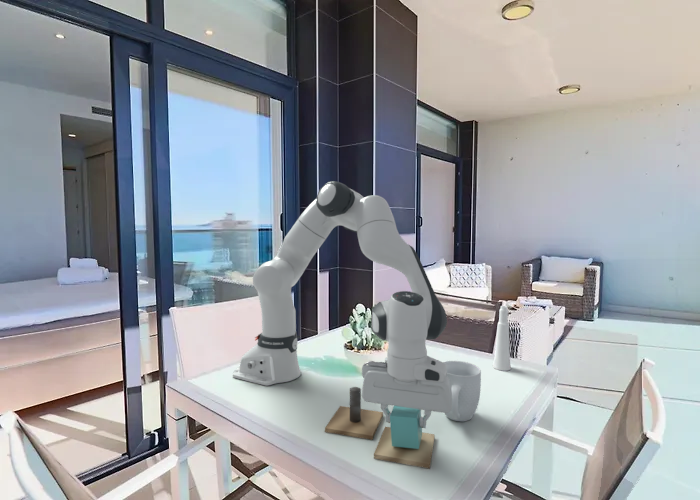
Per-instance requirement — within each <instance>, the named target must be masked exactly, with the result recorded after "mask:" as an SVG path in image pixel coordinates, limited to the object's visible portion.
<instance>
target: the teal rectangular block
mask: <svg viewBox="0 0 700 500" xmlns="http://www.w3.org/2000/svg"><path fill="white" fill-rule="evenodd" d="M392 407H393V408H392V410H391V411H390V412H391V414H390V423H389V424H390V425H389V426H390V427H391V440H392V446H394V447H404V448H414V449H419V446H420V442H421V438H422V432H423V428H419V419H420V417H422V410H420V409H413V408H406V407H399V406H392Z"/></svg>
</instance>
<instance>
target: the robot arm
mask: <svg viewBox="0 0 700 500" xmlns="http://www.w3.org/2000/svg"><path fill="white" fill-rule="evenodd" d="M392 212H393V211H392V210H391V207H390V205H389V203H388V201H387V200H386V199H385V198H384V197H382V196H380V195H377V194H374V195H367V196H365V197H364V196H363V195H361V194H360V193H359V192H357V191H356V190H354V189H351V188H350V187H349V186H347V185H346V184H344V183H342V182H340V181H334V180H333V181H332V180H331V181H328V182H327V183H324V185H322V187H320V189H319V190H318V191H317V194H316V198H315V199H314V200H313V201H312V202H311V203H310V204H309V205H308V206H307V207H306V208H305V209H304V211H303V212H302V213H301V214H300V215H299V217H298V218H297V219H296V221H295V222H294V224H293V225H292V227H291V229H289V231H288V232H287V234H286V235H285V237H284V239H283V242H282V244H281V246H280V248H279V250H278V252H277V254H276V255H275V257H273V258H272V259H271V260H269V261H265V262H262V264H261V265H260V266H258V267H257V269H256V270H255V271H254V273H253V276H252V285H253V287H254V289H255V290H256V291H257V295H258V300H259V305H260V310H261V311H260V312H261V332H260V333H259V334H257V335H256V336H255V337H254V341H257V343H256V344H255V345H254V346H253V347H251V348H250V349H249V350H247V351H246V352H245V353H244V354H243V355H242V357H241V359H240V362H239V363H240V364H239V366H238V367H237V368H236V369H235V370H234V371H233V373H232V378H234V379H239V380H243V381H246V382H250V383H254V384H257V385H262V386H272V385H275V384H281V383H287V382H291V381H294V380H296V379H297V378H299V377H300V376H301V373H302V371H301V369H300V365H299V360H298V351H297V349H298V332H297V331H296V329H297V324H296V319H297V317H296V308H295V305H294V301H293V296H292V287H294V286H295V285H296V284H298V281H299V280H300V278H301V277H302V276H303V274H304V272H305V271H306V270H307V268H308V266H309V264H310V263H311V261H312V259H313V258H314V256H316V253H317V252H318V250H319V249H320V248H321V246H322V245H323V244H324V242H326V240H327V238H328V237H329V235H330V234H331V232H332V231H333V229H334V228H336V227H338V226H342V227H343V229H344V230H346V231H350V232H353V233H356V234H357V235H356V236H357V239H358V244H359V247H360V250H361V253H362V254H363V255H364V256H365V257H366V258H367V259H369V260H370V261H372V262H375V263H376V264H379V265H383V266H386V267H390V268H392V269H395V270H397V271H399V272H401V273H402V274H403V275H404V277H405V278H406V279H407V282H408V285H409V286H410V287H409V288H410V289H411V291H408V290H407V291H406V290H402V291H396V292H394V293H392V294H391V295H390V298H389V299H387V300H382V301H378V303H376V304H375V305H374V307H372V310H371V312H370V313H371V315H370V316H371V317H370V320H371V321H370V325H371V326H370V328H371V332H372V333H373V335H375V336H376V337H378V338H379V339H380V340H381V341H387V342H388V347H387V351H386V352H387V356H386V358H387V363H386V362H385V361H384V362H383V361H375V360H369V361H368V362H365V363H363V365H362V367H361V375H362V377H363V383H362V389H361V399H363V401H364V402H365V403H372V404H379V405H380V410H381V412H383V415H384V416H385V423H388V424H390V414H391V412H392V411H390V409H389V408H388V407H389V406H392V407H394V406H399V407H406V408H413V409H420V410H421V411H422V410H423V411H424V413H423V414H424V416H421V417H420V419H419V428H422V429H426V428H427V421H428V420H429V418H430V416H431V414H432V412H436V413H442V414H445V413H449V412H450V411H451V410H452V390H451V383H450V380H449V378H448V377H447V366H446V364H445V363H443V362H444V361H441V360H439V359H436V358H433V357H431V356H429V355H428V350H427V345H426V340H436V339H437V338H438V337H440V336H441V334H442V333H443V332H444V331H445V329H446V328H447V325H448V324H447V323H448V317H447V313H446V311H445V308H444V306H443V305H442V304H443V303H441V301H440V300H439V298H438V297H437V295H436V292H435V291H434V289H433V286H432V284H431V282H430V279H429V277H428V275H427V272H426V271H425V268H424V266H423V264H422V262H421V259H420V257H419V256H418V253H417V251H416V250H415V248H414V247H413V246H412V245H410V244H409V243H407V242H406V241H405V240H404V239H403V237H402V236H401V235H400V233H399V230H398V228H397V224H396V220H395V217H394V214H393V213H392Z"/></svg>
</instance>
